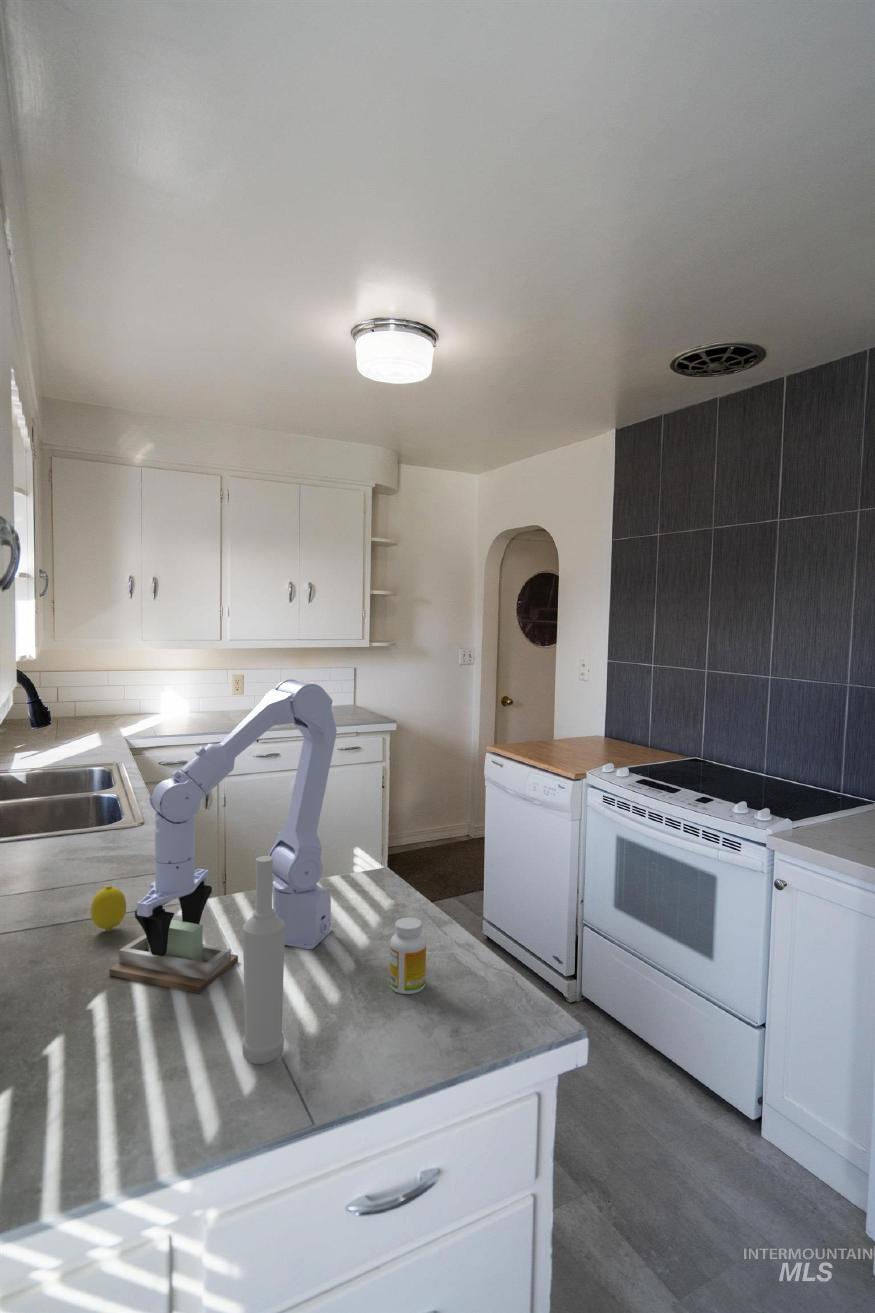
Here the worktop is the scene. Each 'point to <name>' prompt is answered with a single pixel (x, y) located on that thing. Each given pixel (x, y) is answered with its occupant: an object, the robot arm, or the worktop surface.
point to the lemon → (108, 908)
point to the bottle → (263, 973)
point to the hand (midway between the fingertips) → (175, 943)
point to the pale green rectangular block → (185, 941)
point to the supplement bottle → (408, 957)
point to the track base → (172, 966)
